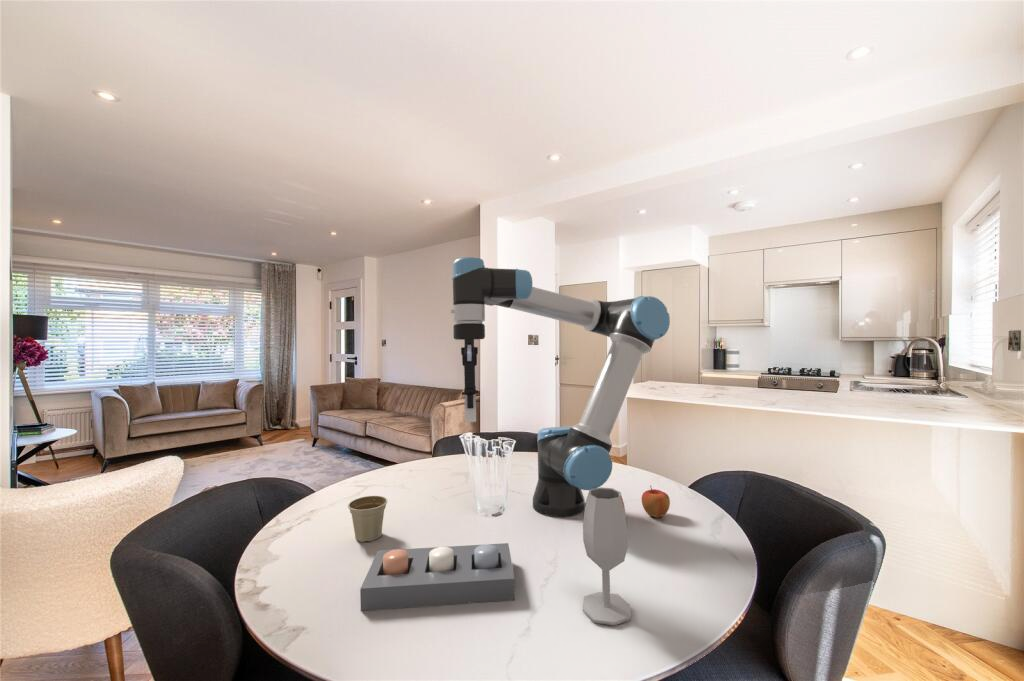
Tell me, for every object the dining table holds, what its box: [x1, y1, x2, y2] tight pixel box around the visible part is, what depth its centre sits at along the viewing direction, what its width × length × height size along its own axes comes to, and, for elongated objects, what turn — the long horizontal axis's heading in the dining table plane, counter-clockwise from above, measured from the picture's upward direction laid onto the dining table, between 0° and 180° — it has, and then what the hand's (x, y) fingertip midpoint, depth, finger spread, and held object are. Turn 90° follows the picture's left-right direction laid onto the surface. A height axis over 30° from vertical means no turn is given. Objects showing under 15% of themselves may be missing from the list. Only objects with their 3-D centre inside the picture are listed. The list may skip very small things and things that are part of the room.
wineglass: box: [581, 487, 632, 626], centre depth 75 cm, size 9×9×21 cm
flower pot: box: [347, 495, 389, 543], centre depth 105 cm, size 9×9×9 cm
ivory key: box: [429, 546, 454, 572], centre depth 84 cm, size 5×5×4 cm
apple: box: [641, 485, 671, 519], centre depth 115 cm, size 7×7×8 cm
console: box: [360, 542, 516, 612], centre depth 84 cm, size 28×14×4 cm, turn 95°
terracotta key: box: [383, 548, 408, 575], centre depth 83 cm, size 5×5×4 cm
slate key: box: [474, 543, 498, 570], centre depth 85 cm, size 5×5×4 cm
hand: (470, 421), depth 101 cm, fingers closed
